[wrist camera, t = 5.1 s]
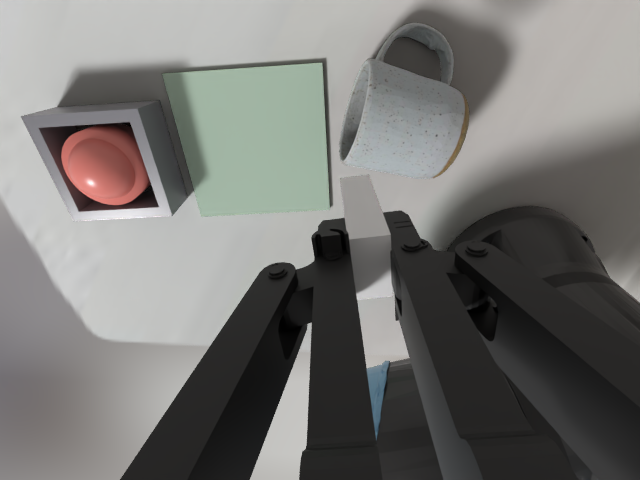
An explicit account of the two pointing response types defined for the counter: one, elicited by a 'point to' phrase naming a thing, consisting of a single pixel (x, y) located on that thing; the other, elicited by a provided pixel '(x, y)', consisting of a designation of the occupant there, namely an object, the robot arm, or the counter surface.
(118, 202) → the red dome
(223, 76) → the sage square
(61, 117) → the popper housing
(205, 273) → the counter surface
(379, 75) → the ceramic mug
